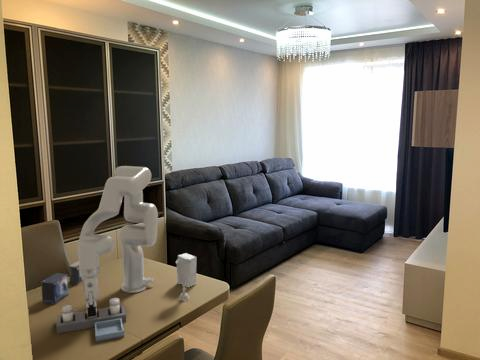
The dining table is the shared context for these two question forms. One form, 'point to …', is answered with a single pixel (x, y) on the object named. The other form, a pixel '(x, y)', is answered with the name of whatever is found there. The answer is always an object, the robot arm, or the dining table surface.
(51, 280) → the small box
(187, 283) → the skincare box
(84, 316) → the fuse block
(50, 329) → the dining table surface
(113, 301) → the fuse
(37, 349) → the dining table surface
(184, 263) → the chalice
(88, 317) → the white striped cylinder
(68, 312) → the fuse
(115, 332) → the tray
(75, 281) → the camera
